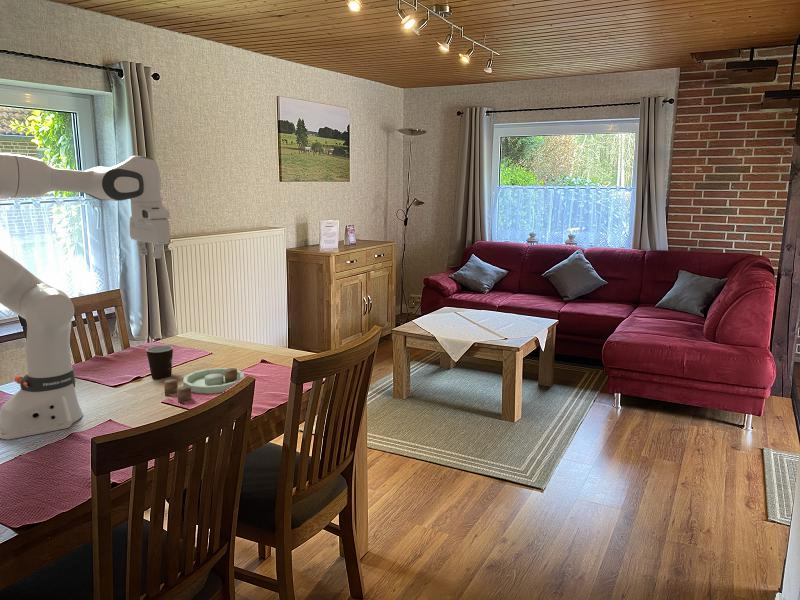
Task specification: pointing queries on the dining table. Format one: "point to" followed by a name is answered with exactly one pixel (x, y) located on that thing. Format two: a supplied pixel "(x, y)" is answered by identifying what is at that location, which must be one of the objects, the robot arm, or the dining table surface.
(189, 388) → the bead
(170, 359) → the coffee mug
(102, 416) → the dining table surface
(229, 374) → the bead
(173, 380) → the bead
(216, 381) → the tray
